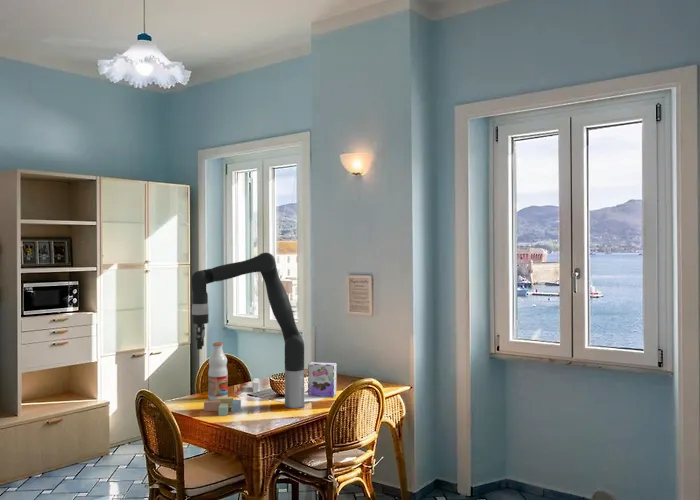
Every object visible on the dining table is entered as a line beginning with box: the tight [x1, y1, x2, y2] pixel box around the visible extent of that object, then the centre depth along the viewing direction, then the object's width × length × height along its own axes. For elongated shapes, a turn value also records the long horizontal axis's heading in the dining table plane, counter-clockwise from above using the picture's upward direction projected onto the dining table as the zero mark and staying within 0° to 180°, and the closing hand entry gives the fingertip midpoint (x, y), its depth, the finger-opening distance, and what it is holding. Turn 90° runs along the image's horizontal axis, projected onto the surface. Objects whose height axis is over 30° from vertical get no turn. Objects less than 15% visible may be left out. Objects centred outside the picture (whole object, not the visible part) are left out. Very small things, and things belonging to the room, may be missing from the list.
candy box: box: [307, 361, 338, 398], centre depth 315 cm, size 14×6×16 cm, turn 76°
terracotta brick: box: [203, 400, 221, 412], centre depth 287 cm, size 7×4×4 cm, turn 95°
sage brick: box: [218, 403, 229, 417], centre depth 280 cm, size 7×4×4 cm, turn 6°
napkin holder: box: [252, 377, 260, 393], centre depth 329 cm, size 15×11×6 cm
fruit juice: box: [207, 341, 229, 401], centre depth 307 cm, size 9×9×28 cm
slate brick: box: [230, 399, 242, 413], centre depth 287 cm, size 7×4×4 cm, turn 5°
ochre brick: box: [217, 396, 234, 408], centre depth 294 cm, size 7×4×4 cm, turn 105°
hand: (200, 347), depth 290 cm, fingers open, 8 cm apart
